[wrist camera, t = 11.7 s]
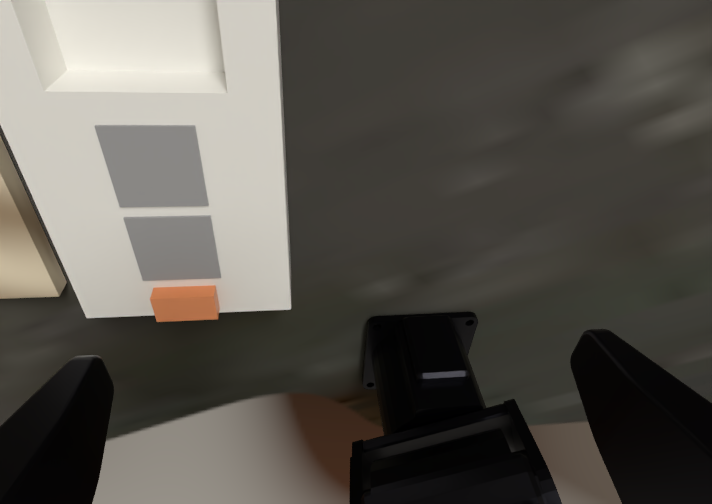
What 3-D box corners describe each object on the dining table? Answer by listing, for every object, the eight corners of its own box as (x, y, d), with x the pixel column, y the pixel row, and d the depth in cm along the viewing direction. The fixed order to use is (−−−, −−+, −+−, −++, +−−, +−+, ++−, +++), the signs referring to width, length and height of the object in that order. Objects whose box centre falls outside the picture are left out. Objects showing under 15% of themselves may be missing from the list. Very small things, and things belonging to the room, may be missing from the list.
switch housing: (290, 267, 24) (291, 320, 22) (106, 273, 23) (81, 330, 20) (267, -226, 13) (261, -251, 10) (-92, -258, 12) (-210, -295, 9)
